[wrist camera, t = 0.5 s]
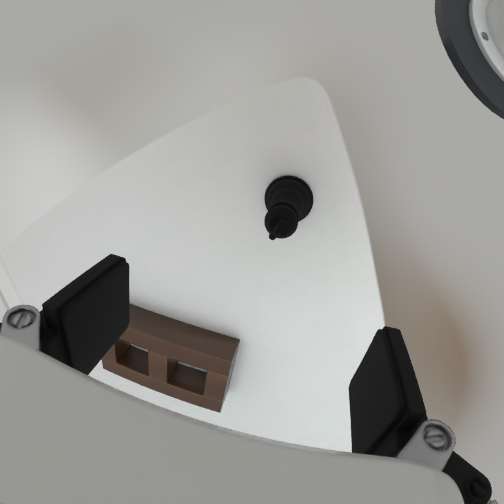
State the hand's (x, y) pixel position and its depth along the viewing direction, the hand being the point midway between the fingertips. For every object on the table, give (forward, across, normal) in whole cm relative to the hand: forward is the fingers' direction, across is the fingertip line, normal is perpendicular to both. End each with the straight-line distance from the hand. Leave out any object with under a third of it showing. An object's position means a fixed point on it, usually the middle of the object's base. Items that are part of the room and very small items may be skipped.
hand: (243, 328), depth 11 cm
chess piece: (+20, 0, 0) cm, 20 cm away
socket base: (+20, +10, +21) cm, 31 cm away
